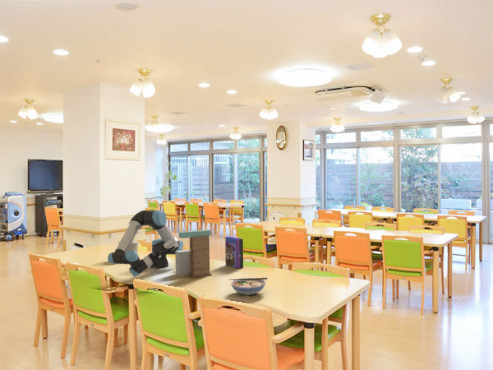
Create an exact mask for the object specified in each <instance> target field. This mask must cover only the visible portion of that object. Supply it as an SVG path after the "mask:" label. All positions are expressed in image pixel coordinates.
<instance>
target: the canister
mask: <svg viewBox="0 0 493 370" xmlns="http://www.w3.org/2000/svg"><path fill="white" fill-rule="evenodd" d="M139 242H140V241H138V240H137V239H133V241H132V243H131V245H130V247H129V249H128V250H127V252H128V251H131V250H134V251H135V252H136V253H137V254H138V251H139V250H138V249H139V248H138V247H139ZM119 243H120V241H118V242H117V244H118V245H119ZM127 252H126V253H127Z"/></svg>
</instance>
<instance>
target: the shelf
mask: <svg viewBox="0 0 493 370" xmlns="http://www.w3.org/2000/svg"><path fill="white" fill-rule="evenodd" d="M174 256H175V275H177V276H178V277H184V276H189V275H188V274H190V248H187V249H183V250H178V251H175V255H174Z"/></svg>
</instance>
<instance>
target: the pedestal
mask: <svg viewBox="0 0 493 370" xmlns="http://www.w3.org/2000/svg"><path fill="white" fill-rule="evenodd" d="M189 249H190V274H188V275H187V276H188V277H190V278H192V279H198V278H203V277H204V278H205V277H211V276H212V273H211V269H210V267H211V266H210V264H211V263H210V236H201V237H191V238H189Z"/></svg>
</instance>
